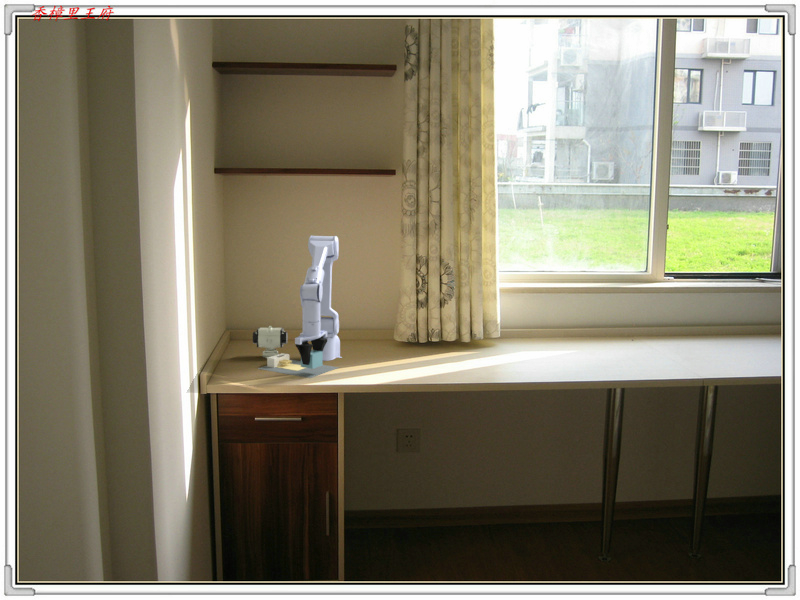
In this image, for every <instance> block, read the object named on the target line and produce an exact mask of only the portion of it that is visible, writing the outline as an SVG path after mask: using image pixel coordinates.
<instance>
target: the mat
mask: <svg viewBox="0 0 800 600" xmlns="http://www.w3.org/2000/svg"><path fill="white" fill-rule="evenodd" d="M289 360H291V361H292V362H291V363H289V364H283V365H280V366H277V367H275V368H273V367H268V366H267V365H264V366H261V367H257V370H263V371H268V372H274V373H278V374H284V375H290V376H296V377H300V378H301V377H302V378H306V379H312V378H315V377H317V376H321V375H323V374H326V373H329V372H331V371H334V370H336V369H337V370H338V369H340V367H338V366H334V365H333V366H331V365H328V364H327V365H325V364H323V365H322V366H319V367H316V368H313V369H311V368H305V367H301V360H296V359H291V358H289Z"/></svg>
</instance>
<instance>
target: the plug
mask: <svg viewBox="0 0 800 600" xmlns="http://www.w3.org/2000/svg"><path fill="white" fill-rule="evenodd" d="M300 361H301V367H305V368H311V369H313V368H316V367H319V366H322V365H324V364H323V363H324V361H323V351H316V350H313V349H311V353H310V363H309V365H305V364H303V362H302V359H301V358H300Z"/></svg>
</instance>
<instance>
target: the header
mask: <svg viewBox="0 0 800 600" xmlns="http://www.w3.org/2000/svg"><path fill="white" fill-rule="evenodd" d="M289 359H290V354H289V353H285V352H283V353H282V352H281V353H278V355H275V356H271V357H268V358H266V360H267V361H266V363H267V365H266V366H268V367H273V368H275V367H277V366H280V365H283V364H289V363H291V362H292V361H291V360H292V359H291V360H289Z"/></svg>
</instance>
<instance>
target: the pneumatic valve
mask: <svg viewBox="0 0 800 600" xmlns="http://www.w3.org/2000/svg"><path fill="white" fill-rule="evenodd" d="M288 337H289V336H288V331H285V329H284V327H272V325H268V327H258V328H257V329H256V331H255V330H254V331H253V333H252V344H255V345H256V348H265V350H263V351H262V358H265V359H267V358H268V357H271V356H275V355H278V354H279V351H278V349H277V348H283V347H284V345H285V344H286V345H287V344H288Z"/></svg>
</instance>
